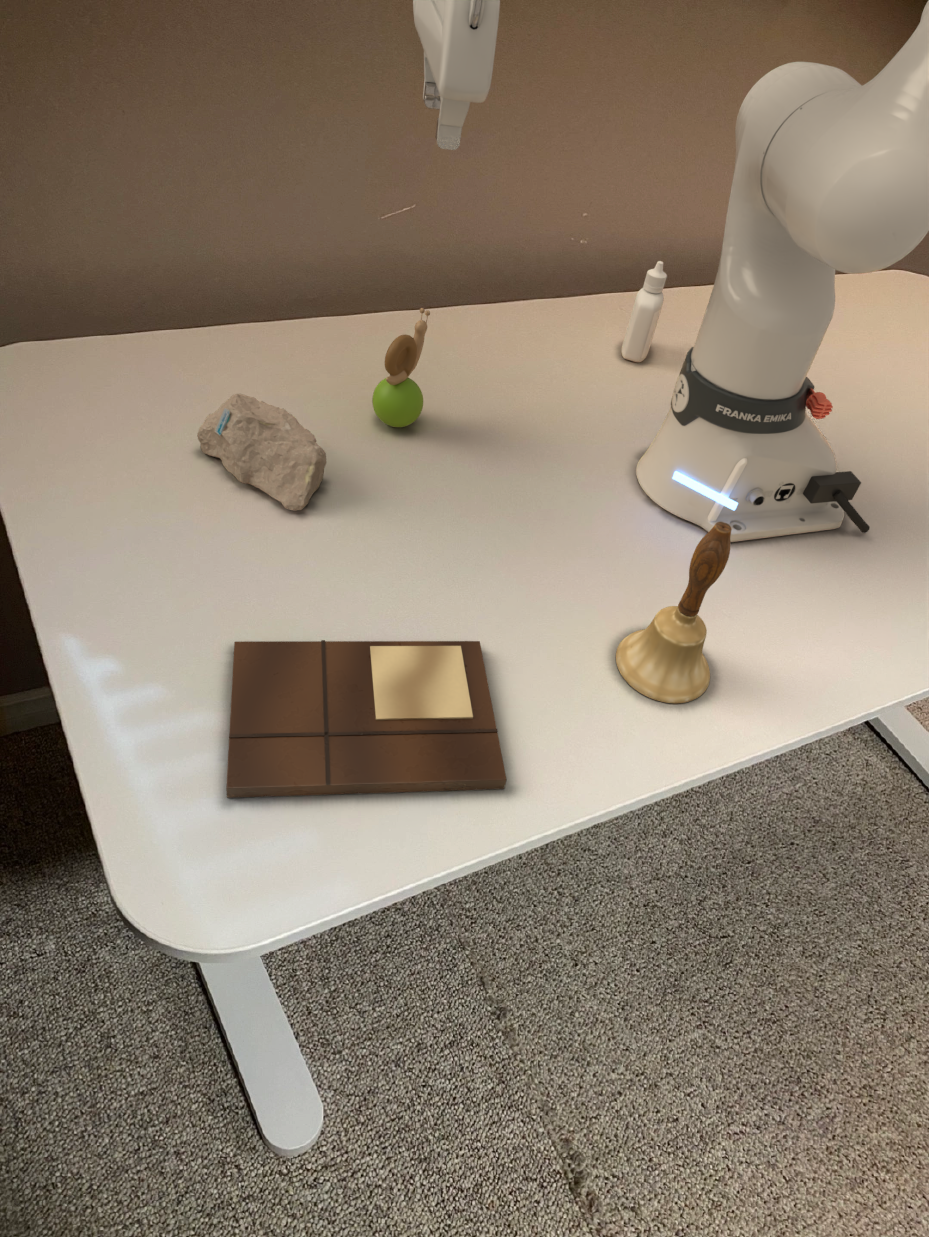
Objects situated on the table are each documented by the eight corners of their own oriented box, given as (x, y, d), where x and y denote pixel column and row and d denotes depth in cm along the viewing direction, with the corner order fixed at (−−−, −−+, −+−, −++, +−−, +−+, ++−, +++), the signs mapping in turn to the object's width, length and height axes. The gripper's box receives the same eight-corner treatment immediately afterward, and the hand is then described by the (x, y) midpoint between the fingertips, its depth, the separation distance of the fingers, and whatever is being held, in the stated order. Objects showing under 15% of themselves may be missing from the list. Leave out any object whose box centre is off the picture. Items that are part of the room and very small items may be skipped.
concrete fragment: (283, 521, 87) (283, 469, 83) (190, 451, 93) (186, 398, 88) (339, 492, 91) (342, 441, 87) (247, 426, 97) (245, 375, 92)
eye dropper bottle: (660, 354, 120) (688, 264, 112) (634, 366, 117) (660, 274, 109) (634, 339, 122) (660, 250, 114) (607, 350, 119) (632, 259, 111)
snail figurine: (435, 419, 103) (448, 318, 94) (401, 443, 98) (412, 340, 90) (395, 399, 104) (405, 299, 96) (360, 423, 100) (367, 320, 92)
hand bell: (724, 700, 79) (797, 559, 67) (633, 707, 77) (693, 563, 65) (688, 629, 84) (750, 488, 73) (602, 634, 82) (653, 490, 71)
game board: (477, 650, 79) (480, 639, 78) (504, 789, 69) (507, 778, 68) (235, 651, 75) (234, 639, 74) (227, 798, 65) (226, 786, 64)
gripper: (532, -41, 61) (496, 178, 70) (485, -98, 75) (461, 91, 84) (437, -55, 59) (414, 169, 69) (407, -111, 73) (391, 82, 83)
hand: (439, 125), depth 77 cm, fingers open, 8 cm apart
